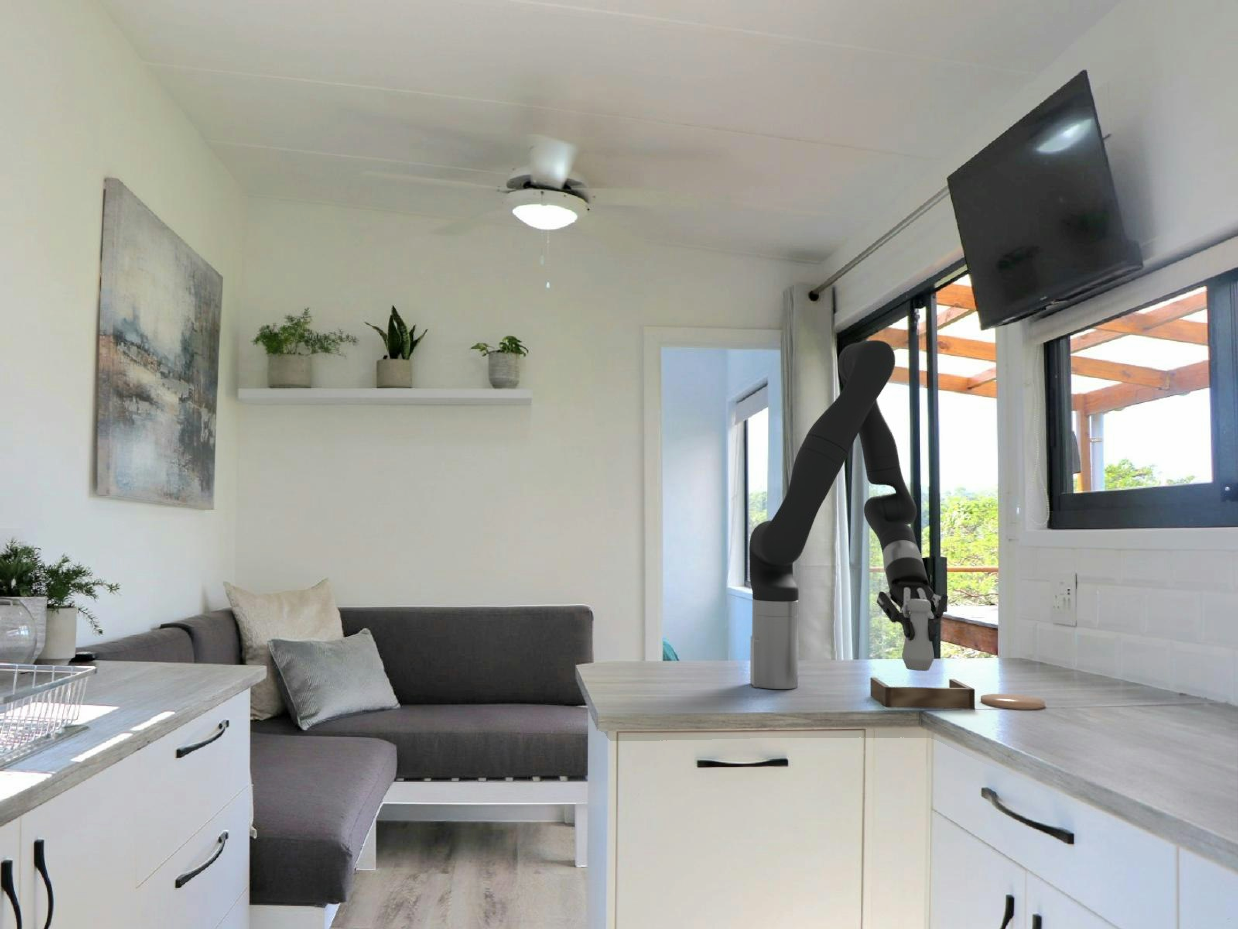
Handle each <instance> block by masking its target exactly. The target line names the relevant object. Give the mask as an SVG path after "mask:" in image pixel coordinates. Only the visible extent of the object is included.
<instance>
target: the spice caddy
mask: <svg viewBox="0 0 1238 929" xmlns="http://www.w3.org/2000/svg"><path fill="white" fill-rule="evenodd" d="M948 683H949V684H948V685H949V686H948V687H931V686H929V687H927V686H924V687H923V686H922V687H921V686H919V687H918V686H889V684H886V683H885V682H883V681H882V680H880V679H879V678H877V677H870V694H869V695H870V697H871V698H872V699H874V700H875V701H876V702H878V703H879V704H880V705H882V706H883V707H885V708H907V709H910V708H915V709H956V710H959V709H960V710H961V709H962V710H976V707H975V705H976V702H975V701H976V696H975V695H976V693H975V692H976V690H975V688H974V687H971V686H969V685H967V684H966V683H963V682H961V681H959V680H957V679H954V678H949V679H948Z"/></svg>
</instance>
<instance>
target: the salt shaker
mask: <svg viewBox="0 0 1238 929" xmlns="http://www.w3.org/2000/svg"><path fill="white" fill-rule="evenodd" d="M931 603H932V602H929V601H928V600H925V599H910V600H909V601H908V603H907V610H908V611H910V617H909V618H910V621H911V622H912V623H913V628H914V632H915V636H914V639H913V640H911V641H909V640H908V638H906V637H905V636H904V637H905V638H904V643H903V648H902V653H901V658H902V661H903V663H904V664H905V669H907V670H911V671H916V672H917V671H918V672H927V671H929V670H930V668H931V667H932V664H933V662H934V660H935V655H934V647H933V646H934V645H933V641H932V642H931V641H929V632H928V615H927V613H928V612H930V610H931V609H932V608H931V607H932V605H931ZM931 611H932V610H931Z"/></svg>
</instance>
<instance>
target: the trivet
mask: <svg viewBox="0 0 1238 929" xmlns="http://www.w3.org/2000/svg"><path fill="white" fill-rule="evenodd" d="M980 703H981V704H984V705H987V706H991V707H995V708H1001V709H1010V710H1012V709H1013V710H1023V711H1024V710H1028V711H1029V710H1040V709H1044V708H1045V707H1046V704H1045V703H1046V702H1045V701H1044V700H1043V699H1041V698H1038V697H1033V696H1030V695H1029V696H1026V695H1020V694H1011V693H1010V694H1009V693H987V694H982V695H981V696H980Z"/></svg>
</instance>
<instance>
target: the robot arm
mask: <svg viewBox="0 0 1238 929" xmlns="http://www.w3.org/2000/svg"><path fill="white" fill-rule="evenodd" d="M837 367H838V372H839V373H838V374H839V376H840V379H841V382H842V385H843V387H842V390H841V392H840V394H839V395H838V396H837V398H836V399H835V400H834V401H833V402H832V404H830V406H829V407H828V408H826V410H825V411H824V412H823V413H822V414H821V415H820V416H819V417H818V419H816V421H815V422H814V423H813V425H812V426H811V427H810V428H809V430H808V432H807V434H806V436H805V438H804V439H803V442H802V444H801V446H800V447H799V449H798V451H797V454H796V457H795V458H794V459H795V460H794V461H793V462H794V463H793V467H792V470H791V476H790V481H789V484H788V485H789V486H788V489H787V492H786V494H785V497H784V499H783V501H782V503H781V504H780V505H779V508H778V510H777V511H776V513H775V514H774V516H773V518H772V519H770V520H766V521H763V522H761V523H759V524H758V525H757V526H756V527H754V528H753V530H752V532H751V534H750V537H749V543H748V544H749V545H748V550H749V551H748V558H749V559H748V560H749V567H748V568H749V583H750V586H751V591H752V594H751V597H752V600H751V601H752V611H751V612H752V613H751V614H752V615H751V616H752V618H751V621H752V622H751V623H752V624H751V625H752V626H751V628H752V629H751V635H750V658H749V659H750V664H749V665H750V666H749V667H750V672H749V673H750V674H749V675H750V678H749V680H750V684H751V685H752V687H753V688H761V689H762V688H763V689H771V690H787V689H789V690H790V689H795V688H798V687H799V594H800V593H799V587H798V585H797V583H796V581H795V578H794V563H795V562H797V560H798V559H799V558H800V557H801V555H802V553H803V551H804V548H805V546H806V543H807V540H808V538H809V536H810V532H811V530H812V528H813V525H814V522H815V519H816V517H817V514H818V513H819V510H820V509H821V506H822V504H823V502H824V501H825V499H826V498H827V496H828V494H829V492H830V490H831V488H832V486H833V484H834V482H835V480H836V478H837V476H838V475H839V473H840V472H841V469H842V467H843V465H844V464H845V461H846V459H847V458H848V455H849V453H850V451H851V449H852V446H853V444H854V442H855V440H856V439H857V436H858V435H859V440H860V445H861V450H862V456H863V462H864V467H865V472H866V478H867V481H868V483H870V484H871V485H876V486H888V487H891V488H893V489H894V491H895V492H894V493H893V492H892V493H887V494H881V495H875V496H871V497H869V498H868V499H867V500H866V502H865V503H864V506H863V515H864V518H865V521H866V522H867V524H868V525H869V527H870V528H871V530H872V531H873V533H874V534H875V536H876V537H877V539H878V542H879V544H880V549H881V553H882V561H883V570H884V572H885V576H886V580H887V584H888V589H889V590H888V592H884V591H879V592H878V596H877V599H876V603H877V604H878V606H879V607H880V609H881V610H882V611H883V613H884V614H885V615H886V616H887V618H888V619H889V620H890V622H891V623H894V624H895V623H900V625H901V626H902V631H903V634H904V637H906V638H908V640H909V641H911V640H913V639H914V636H915V632H914V628H913V623H912V622H911V621H910V618H909V617H910V611H908V610H907V603H908V601H909V600H910V599H925V600H928V601H929V602H930V603H932V602H933V604H934V606H935V608H936V611H935V613H933V612H932V610H930V612H928V613H927V615H928V632H929V641H931V642H932V643H933V641H934V640H935V638H936V635H937V631H938V630H937V628H936V626H937V625H940V624H941V621H942V618H943V616H944V613H945V608H946V605H947V602H948V599H949V596H948V595H947V594H944V593H943V594H941V595H938V594H935V592H934V591H933V589H932V588H931V587H930V582H929V579H928V576H927V572H926V568H925V565H924V564H925V563H924V561H923V556H922V553H920V549H919V547H918V544H917V540H916V537H915V532H914V531H913V529H912V527H911V526H910V525H911V524H913V523H914V522H915V520H916V518H917V514H918V513H917V512H918V510H917V505H916V502H915V500H914V499H913V497H912V494H911V493H910V491H909V489H908V487H907V485H906V482H905V479H904V476H903V474H902V469H901V464H900V463H901V462H900V459H899V458H900V457H899V453H898V447H897V442H896V439H895V436H894V434H893V432H892V430H891V428H890V426H889V424H888V422H887V420H886V419H885V417H884V415H883V413H882V410H881V408H880V405H879V403H878V397H879V396H880V395H881V393H882V391H883V390H884V388H885V387H886V385H887V384H888V382H889V381H890V378H891V377H892V375H893V373H894V371H895V367H896V355H895V352H894V349H893V348H892V346H891V345H890V344H889V343H887V342H886V341H884V340H880V339H876V340H875V339H872V340H865V341H859V342H855V343H852V344H849V345H847V346H844V348H843V349H842V350H841V352H840V354H839V356H838V362H837ZM931 601H932V602H931ZM896 605H897V606H898V607H899V609H898V608H897V607H896Z"/></svg>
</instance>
